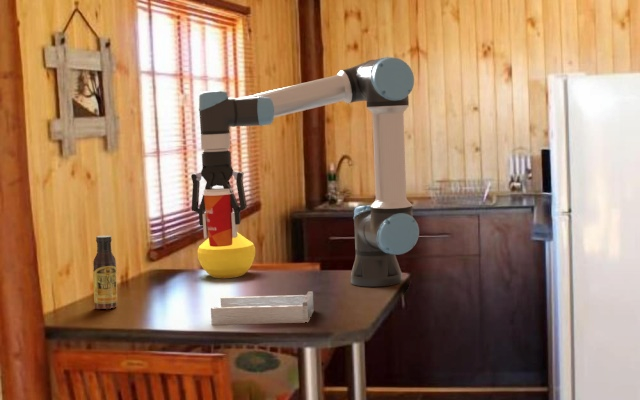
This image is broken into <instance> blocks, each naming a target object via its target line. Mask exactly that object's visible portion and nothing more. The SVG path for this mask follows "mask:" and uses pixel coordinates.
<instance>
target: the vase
mask: <svg viewBox="0 0 640 400" xmlns="http://www.w3.org/2000/svg"><path fill="white" fill-rule="evenodd" d="M255 257H256V247H255V245H254V243H253V242H252V241H251V240H249V239H247V238H246V237H245V236H243V235H242V234H241V233H239V232H238V231H237V237H236V238H233V236H232V245H229V246H222V247H212V246H210V244H209V237H208V238H206V240H204V241H203V242H202V243H201V244H200V245H199V246H198V248H197V259H198V261H199V264H200V265H201V267H202V269H203V270H204V271H205V272H206V274H207V275H209V276H210V277H212V278H215V279H232V278H238V277H242V276H244V275H245V274H246V273H247V272H248V271H249V270H250V268H251V266H252V265H253V262H254V259H255Z"/></svg>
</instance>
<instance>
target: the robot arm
mask: <svg viewBox="0 0 640 400" xmlns="http://www.w3.org/2000/svg"><path fill="white" fill-rule="evenodd" d="M414 85H415V76H414V72H413V70H412V69H411V66H410V65H409V64H408V63H407V62H406V61H404V60H403V59H401V58H398V57H391V56H387V57H386V56H385V57H381V58H377V59H371V60H368V61H365V62H363V63H360V64H357V65H355V66H352V67H349V68H346V69H342V70H339V72H338V73H337V74H335V75H332V76H328V77H323V78H319V79H315V80H311V81H307V82H302V83H297V84H294V85H289V86H285V87H282V88H277V89H276V88H275V89H273V90H272V89H271V90H268V91H264V92H260V93H255V94H253V95H246V96H243V97H236V98H235V97H229V95H228V92H227V91H226V90H213V91H212V90H211V91H210V90H208V91H202V92H201V93H200V94H199V99H198V101H199V102H198V103H199V104H198V105H199V106H198V111H199V123H200V124H199V125H200V144H201V145H200V148H201V150H202V152H201V162H202V168H201V170H200V172H198V173H192V174H191V175H190V176H191V177H190V178H191V180H192V195H191V196H192V197H191V211H192V212H195V213H198V221H199V222H198V223H199V226H200V227H201V226H202V227H203V228H202V229H203V239H208V238H209V237H208V228H207V220H206V211H205V202H204V195H202V197H201V201H200V204H199V199H200V198H199V197H200V186H201V185H200V181H201V180H202V178H203V179H204V181H205V186H204V187H205V188H204V189H205V190H206V189H212V188H214V187H215V186H218V187H222V188H223V187H224V189H230V188H232V187H231V183H230V179H231V178H232V176H233V178H234V180H235V181H236V182H235V184H236V189H237V196H238V200H239V203H238V201H237V198H236V196H235V192H234V191H233V190H232V192H234V193H233V194H232V192H231V191H230V193H231V194H230V203H231V205H232V207H233V212H232V213H231V217H232V236H233V238H236V237H237V232H238V225H240V224H241V223H242V222H241V221H242V219H241V212H242V211H244V210H245V209H247V207H248V205H247V199H246V193H245V187H244V182H243V180H244V176H245V175H244V172H243V171H235V170H234V169H233V167H232V154H231V150H229V149H231V137H230V136H231V135H230V128H231V127H255V126H256V127H257V126H259V127H263V126H268V125H269V126H270V125H272V123H273V122H274V119H275V118H278V117H283V116H286V115H291V114H294V113H298V112H299V113H300V112H304V111H306V110H307V111H308V110H312V109H315V108H320V107H323V106H327V105H332V104H336V103H341V102H344V103H346V104H351V103H355V102H366V109H367V110H368V111H369V112H370V114H372V135H373V136H372V137H373V139H372V140H373V161H374V162H373V163H374V165H373V167H374V188H375V189H374V192H375V199H374V202H372V203H371V204H368V205H357V206H356V207H354V210H353V218H352V219H353V223H354V224H353V226H354V228H353V229H354V245H355V246H354V247H355V258H354V262H353V266H352V269H351V273H350V284H351V285H354V286H359V287H369V288H370V287H371V288H372V287H387V286H393V285H398V284H401V283H402V282H403V274H402V269H401V268H400V265H399V262H398V259H397V256H396V255H404V254H406V253H408V252H409V251H411V250H412V249H413V248H414V247H415V245H416V244H417V243H418V239H419V237H420V227H419V224H418V222H417V220H416V219H415V218H414V217H413V204H412V203H411V202H410V201H409V200H408V198H407V180H406V179H407V178H406V155H405V154H406V150H405V149H406V148H405V145H406V144H405V122H404V121H405V119H404V117H405V116H404V114H405V111H406V110H407V109H408V108H409V106H410V105H409V104H410V103H409V101H410V99H409V97H410V96H409V95H410V94H411V92H412V91H413V88H414Z"/></svg>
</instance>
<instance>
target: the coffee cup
mask: <svg viewBox="0 0 640 400" xmlns="http://www.w3.org/2000/svg"><path fill="white" fill-rule="evenodd" d="M230 191H231V192H232V191H233V188H232V187H231V188H230V189H224V187H223V186H218V187H212V189H206V190H205V188H204V189H203V193H202V196H203V195H204V202H205V213H206V220H207V228H208V238H209V244H210V246H212V247H222V246H229V245H232V217H231V213H232V212H234V210H233V207H232V205H231V203H230V194H231V193H230ZM233 193H234V194H235V192H234V191H233V192H232V194H233Z"/></svg>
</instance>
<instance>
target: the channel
mask: <svg viewBox="0 0 640 400" xmlns="http://www.w3.org/2000/svg"><path fill="white" fill-rule="evenodd" d="M314 311H315V310H314V291H313V290H312V291H310V290H309V291H307V293H306V294H297V295H296V294H295V295H294V294H292V295H261V296H260V295H256V296H255V295H251V296H221V297H220V306H211V307H210V320H211V321H210V322H211V325H213V326H216V325H218V326H219V325H251V324H252V325H254V324H255V325H259V324H260V325H261V324H293V323H294V324H301V323H303V324H304V323H305V322H307V323H309V322H310V319H311V318H312V315H313V313H314ZM310 317H311V318H310ZM307 323H306V324H307Z"/></svg>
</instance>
